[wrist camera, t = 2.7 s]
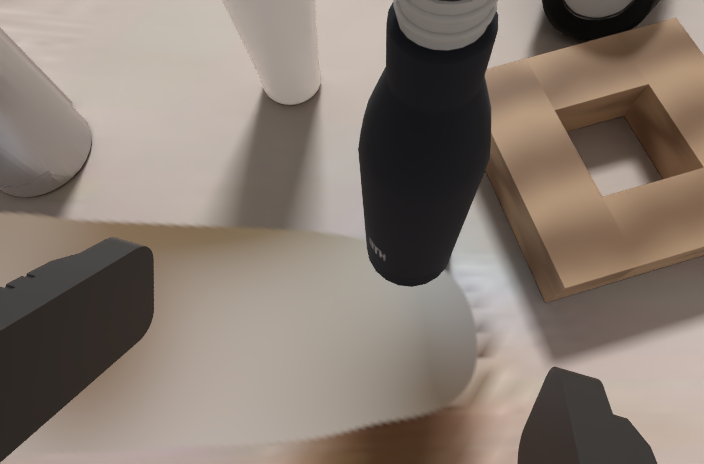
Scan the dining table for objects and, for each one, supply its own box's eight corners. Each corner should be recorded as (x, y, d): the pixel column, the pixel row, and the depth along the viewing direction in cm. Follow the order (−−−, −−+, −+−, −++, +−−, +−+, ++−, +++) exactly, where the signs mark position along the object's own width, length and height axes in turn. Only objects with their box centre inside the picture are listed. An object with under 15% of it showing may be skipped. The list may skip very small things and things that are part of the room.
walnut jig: (456, 106, 41) (463, 75, 37) (649, 53, 42) (675, 17, 38) (545, 302, 34) (565, 288, 31) (773, 234, 35) (819, 211, 31)
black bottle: (458, 219, 37) (683, -389, 9) (441, 296, 35) (667, -198, 7) (379, 200, 38) (370, -397, 10) (357, 274, 36) (271, -233, 8)
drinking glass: (284, 128, 41) (234, -22, 27) (241, 80, 44) (176, -80, 30) (345, 86, 43) (327, -77, 29) (301, 42, 45) (264, -129, 31)
